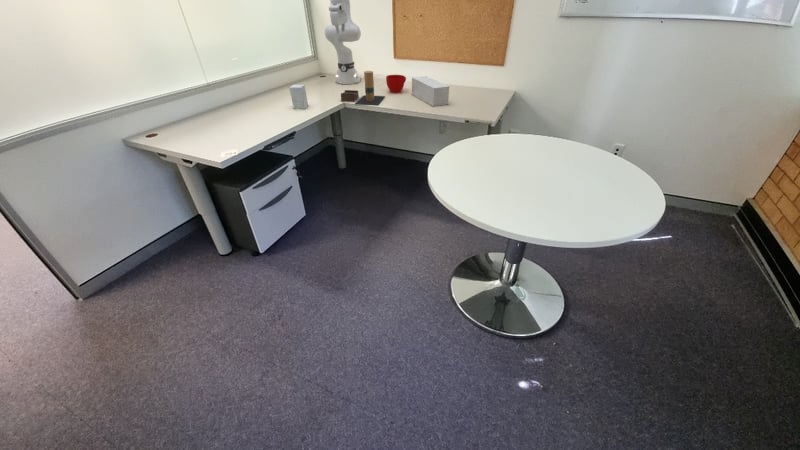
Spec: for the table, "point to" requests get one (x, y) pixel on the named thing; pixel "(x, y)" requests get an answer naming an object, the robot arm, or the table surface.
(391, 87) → the ceramic cup
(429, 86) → the long light grey block
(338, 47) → the robot arm
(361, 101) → the mat
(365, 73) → the paper roll
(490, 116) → the table surface
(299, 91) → the white packaging box
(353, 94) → the cradle
